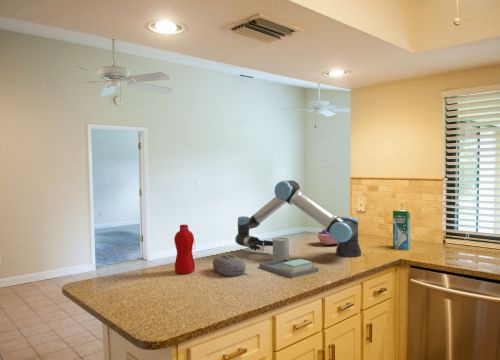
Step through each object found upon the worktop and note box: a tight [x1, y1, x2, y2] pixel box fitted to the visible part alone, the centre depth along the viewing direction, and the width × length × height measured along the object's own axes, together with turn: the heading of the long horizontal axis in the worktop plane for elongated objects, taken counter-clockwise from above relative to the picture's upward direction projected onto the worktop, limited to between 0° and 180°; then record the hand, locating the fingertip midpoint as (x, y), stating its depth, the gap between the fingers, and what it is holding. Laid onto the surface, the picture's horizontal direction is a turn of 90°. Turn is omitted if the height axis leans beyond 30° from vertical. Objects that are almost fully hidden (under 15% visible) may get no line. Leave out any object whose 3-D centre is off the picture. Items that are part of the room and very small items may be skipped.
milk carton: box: [392, 209, 411, 251], centre depth 249 cm, size 9×9×25 cm
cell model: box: [315, 228, 338, 246], centre depth 264 cm, size 17×20×11 cm
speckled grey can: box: [272, 237, 290, 261], centre depth 222 cm, size 10×10×12 cm
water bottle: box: [173, 224, 196, 275], centre depth 198 cm, size 9×11×25 cm
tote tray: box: [258, 258, 319, 279], centre depth 197 cm, size 26×18×3 cm
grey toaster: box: [212, 254, 246, 277], centre depth 197 cm, size 15×8×20 cm
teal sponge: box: [282, 258, 313, 273], centre depth 191 cm, size 8×12×5 cm
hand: (272, 247), depth 228 cm, fingers open, 13 cm apart
